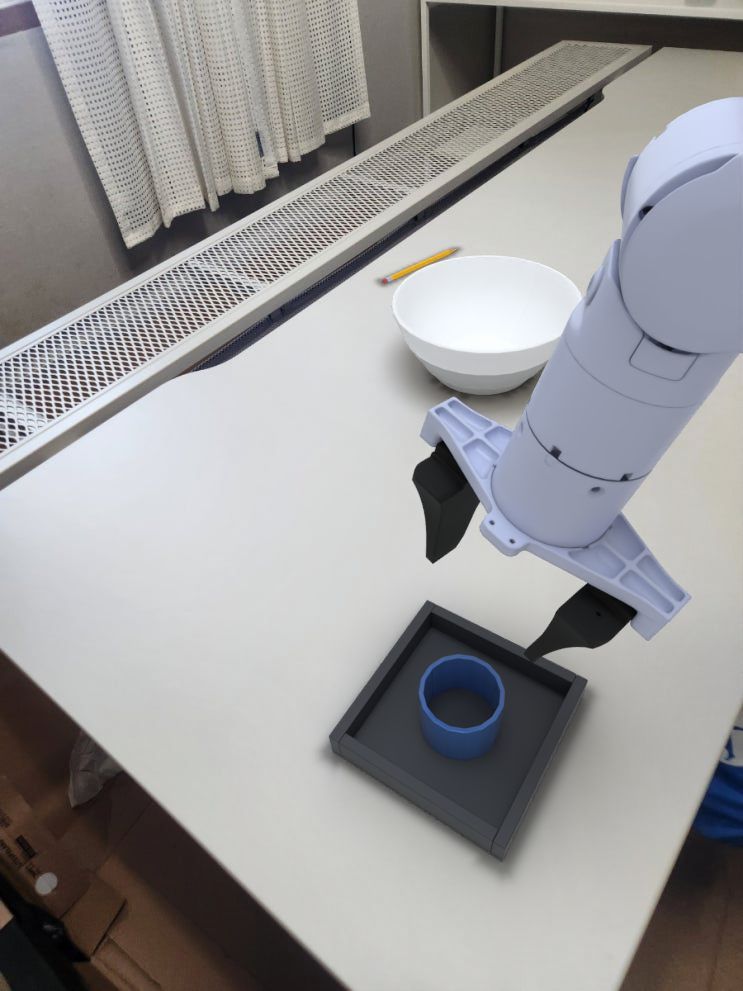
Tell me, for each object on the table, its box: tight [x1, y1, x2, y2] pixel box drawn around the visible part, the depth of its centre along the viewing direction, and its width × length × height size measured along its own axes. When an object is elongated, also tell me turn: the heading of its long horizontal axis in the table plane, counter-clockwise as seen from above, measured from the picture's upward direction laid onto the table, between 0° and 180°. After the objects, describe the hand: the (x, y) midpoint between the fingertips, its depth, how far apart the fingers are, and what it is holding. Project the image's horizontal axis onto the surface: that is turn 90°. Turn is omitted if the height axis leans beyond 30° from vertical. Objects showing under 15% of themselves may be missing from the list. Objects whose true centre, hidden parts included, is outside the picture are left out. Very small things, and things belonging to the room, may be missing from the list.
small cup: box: [419, 654, 505, 761], centre depth 45 cm, size 5×5×4 cm
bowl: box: [390, 254, 583, 396], centre depth 72 cm, size 19×20×8 cm
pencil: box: [381, 248, 458, 285], centre depth 92 cm, size 1×13×1 cm, turn 128°
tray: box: [328, 599, 589, 863], centre depth 45 cm, size 13×13×2 cm
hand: (487, 598), depth 38 cm, fingers open, 7 cm apart
